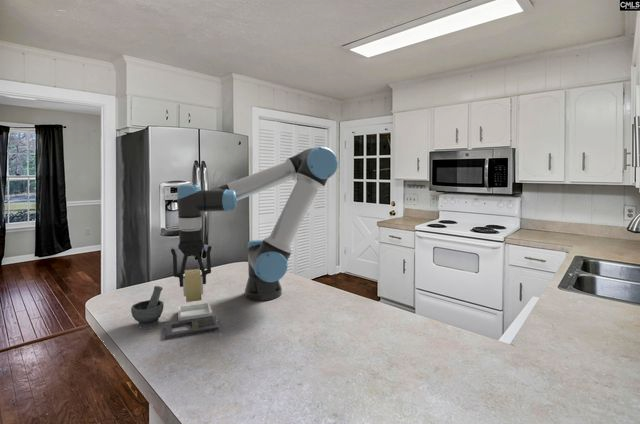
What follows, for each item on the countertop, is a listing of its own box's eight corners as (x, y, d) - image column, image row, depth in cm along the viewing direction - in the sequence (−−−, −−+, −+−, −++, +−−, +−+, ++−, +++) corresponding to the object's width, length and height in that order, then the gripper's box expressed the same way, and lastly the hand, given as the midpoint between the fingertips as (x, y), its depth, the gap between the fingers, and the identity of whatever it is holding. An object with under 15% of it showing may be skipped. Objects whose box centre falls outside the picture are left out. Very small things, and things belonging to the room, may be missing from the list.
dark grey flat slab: (215, 318, 126) (215, 315, 126) (218, 330, 116) (218, 326, 116) (165, 326, 120) (165, 322, 120) (164, 339, 111) (164, 335, 110)
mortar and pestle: (147, 332, 115) (145, 296, 114) (126, 328, 119) (123, 293, 117) (173, 319, 126) (171, 285, 124) (152, 315, 129) (150, 283, 128)
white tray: (209, 307, 136) (209, 302, 136) (212, 318, 126) (212, 312, 125) (178, 312, 132) (178, 306, 132) (178, 323, 122) (178, 317, 121)
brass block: (200, 295, 131) (199, 268, 130) (201, 300, 127) (200, 272, 126) (185, 297, 129) (184, 270, 128) (186, 302, 125) (185, 274, 124)
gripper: (216, 226, 132) (218, 287, 135) (162, 229, 125) (166, 294, 128) (218, 229, 125) (220, 294, 128) (161, 232, 118) (165, 301, 121)
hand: (193, 294), depth 128 cm, fingers closed on brass block, 5 cm apart
